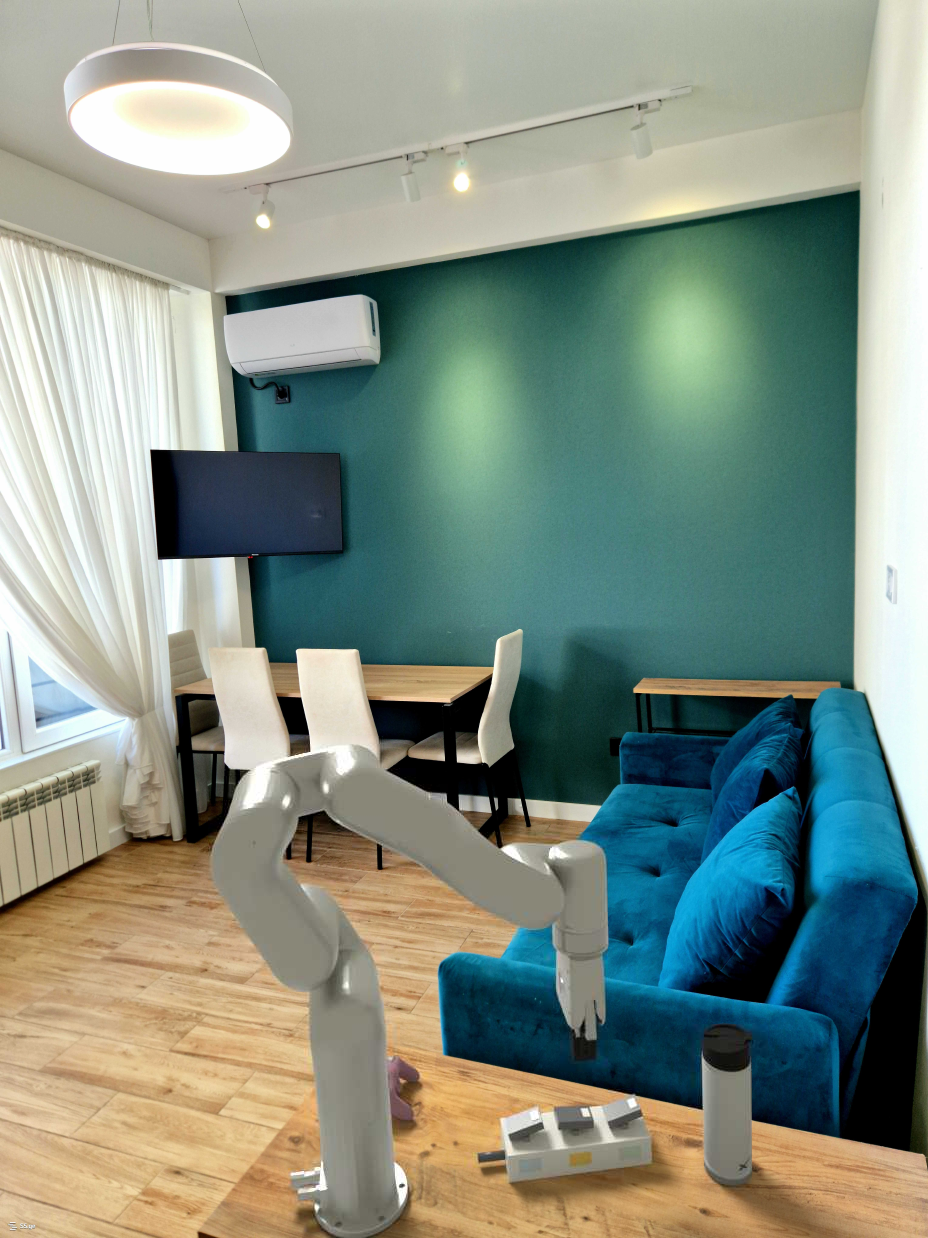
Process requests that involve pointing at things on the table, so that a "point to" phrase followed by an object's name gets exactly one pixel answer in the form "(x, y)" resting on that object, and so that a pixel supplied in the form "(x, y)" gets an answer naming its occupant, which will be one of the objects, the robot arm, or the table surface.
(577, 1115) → the rocker middle
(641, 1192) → the table surface
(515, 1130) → the block
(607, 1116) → the rocker
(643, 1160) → the power strip
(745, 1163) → the travel mug
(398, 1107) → the video game controller
